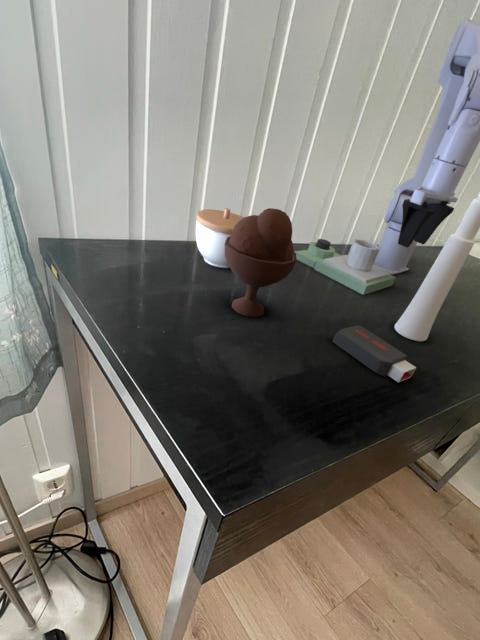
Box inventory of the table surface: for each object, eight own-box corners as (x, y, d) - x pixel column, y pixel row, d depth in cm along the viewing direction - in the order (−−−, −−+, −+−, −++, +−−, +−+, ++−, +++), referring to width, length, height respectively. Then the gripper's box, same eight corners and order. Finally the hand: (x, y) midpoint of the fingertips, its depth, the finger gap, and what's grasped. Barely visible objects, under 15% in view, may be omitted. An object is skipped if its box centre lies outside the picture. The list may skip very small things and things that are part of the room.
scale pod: (322, 252, 93) (326, 240, 91) (342, 262, 90) (347, 249, 88) (292, 257, 85) (296, 243, 83) (313, 268, 83) (317, 254, 81)
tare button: (320, 245, 88) (322, 238, 86) (330, 250, 86) (333, 243, 85) (313, 246, 86) (315, 239, 85) (323, 251, 84) (325, 244, 83)
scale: (345, 263, 90) (349, 251, 88) (391, 286, 85) (397, 274, 83) (313, 269, 82) (317, 257, 81) (362, 295, 77) (368, 282, 75)
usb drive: (352, 336, 62) (359, 321, 60) (413, 377, 56) (422, 361, 54) (332, 341, 59) (338, 325, 57) (393, 385, 53) (403, 369, 51)
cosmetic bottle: (415, 325, 70) (490, 191, 56) (433, 343, 66) (519, 203, 52) (387, 322, 69) (457, 184, 54) (404, 340, 64) (484, 195, 50)
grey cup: (354, 259, 85) (362, 238, 82) (375, 269, 82) (384, 248, 79) (340, 262, 81) (348, 240, 78) (362, 273, 79) (371, 250, 76)
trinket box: (180, 256, 72) (185, 201, 66) (213, 247, 80) (221, 197, 73) (225, 277, 69) (234, 222, 63) (255, 266, 76) (267, 215, 70)
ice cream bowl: (279, 301, 66) (306, 206, 56) (279, 331, 58) (310, 226, 48) (220, 287, 65) (236, 189, 55) (211, 316, 57) (228, 206, 47)
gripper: (457, 167, 59) (414, 255, 68) (484, 170, 68) (443, 248, 77) (417, 154, 62) (380, 240, 71) (448, 160, 71) (412, 236, 80)
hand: (411, 244), depth 75 cm, fingers open, 7 cm apart
